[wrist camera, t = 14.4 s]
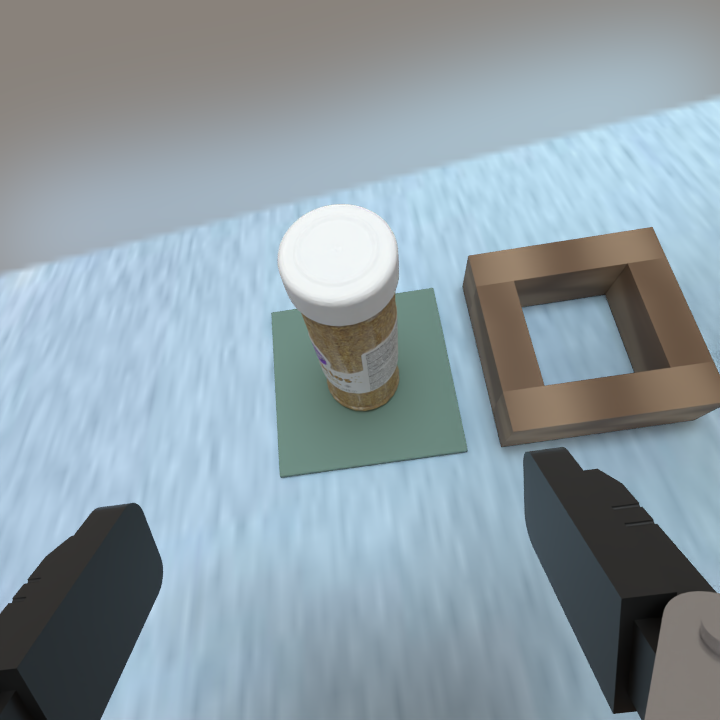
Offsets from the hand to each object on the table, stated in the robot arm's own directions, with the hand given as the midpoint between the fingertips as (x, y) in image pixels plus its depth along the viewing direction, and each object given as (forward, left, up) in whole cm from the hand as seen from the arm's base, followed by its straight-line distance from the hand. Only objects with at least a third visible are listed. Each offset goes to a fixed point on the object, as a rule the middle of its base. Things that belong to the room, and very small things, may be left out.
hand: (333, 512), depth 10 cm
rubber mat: (0, -10, -18) cm, 20 cm away
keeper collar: (-13, -10, -18) cm, 24 cm away
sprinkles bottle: (0, -10, -18) cm, 20 cm away
